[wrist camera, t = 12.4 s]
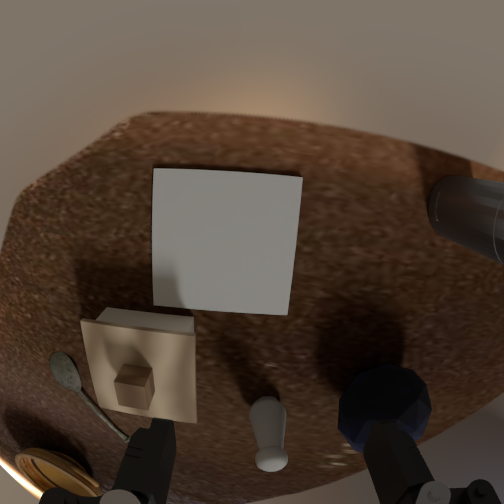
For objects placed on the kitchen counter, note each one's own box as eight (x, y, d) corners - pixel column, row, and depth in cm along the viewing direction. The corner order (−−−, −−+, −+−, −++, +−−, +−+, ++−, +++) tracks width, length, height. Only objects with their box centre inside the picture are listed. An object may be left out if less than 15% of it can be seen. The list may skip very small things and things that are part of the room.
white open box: (193, 316, 42) (186, 339, 36) (195, 388, 46) (189, 414, 40) (107, 307, 42) (90, 326, 36) (117, 377, 45) (105, 400, 39)
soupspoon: (68, 343, 45) (47, 352, 46) (58, 353, 41) (38, 362, 42) (140, 434, 49) (116, 438, 50) (134, 446, 46) (111, 449, 47)
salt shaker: (241, 403, 47) (240, 465, 34) (268, 385, 46) (274, 448, 33) (265, 420, 48) (270, 480, 35) (291, 404, 47) (302, 464, 34)
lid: (195, 332, 36) (189, 355, 31) (197, 419, 40) (193, 443, 35) (83, 318, 36) (66, 336, 31) (101, 403, 40) (90, 424, 35)
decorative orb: (422, 423, 43) (456, 439, 29) (344, 454, 44) (354, 484, 30) (402, 352, 49) (433, 347, 35) (323, 382, 50) (327, 390, 36)
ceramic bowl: (73, 493, 58) (65, 512, 51) (11, 440, 53) (-2, 458, 45) (137, 486, 55) (130, 511, 47) (61, 422, 49) (46, 447, 41)
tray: (301, 177, 37) (302, 177, 37) (286, 313, 42) (287, 315, 42) (155, 168, 37) (153, 168, 36) (154, 303, 42) (153, 305, 41)
